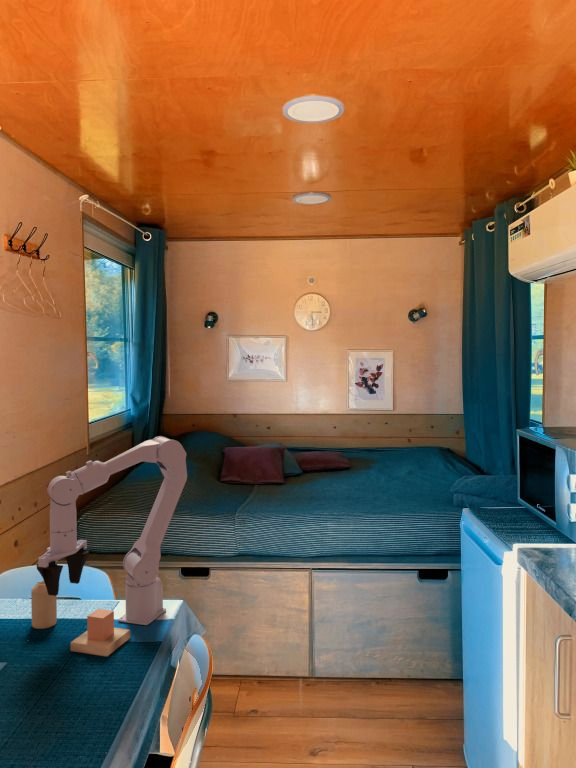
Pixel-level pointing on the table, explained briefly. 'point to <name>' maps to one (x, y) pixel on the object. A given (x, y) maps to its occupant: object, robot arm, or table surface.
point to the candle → (43, 607)
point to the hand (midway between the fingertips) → (64, 588)
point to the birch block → (100, 643)
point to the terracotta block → (100, 624)
